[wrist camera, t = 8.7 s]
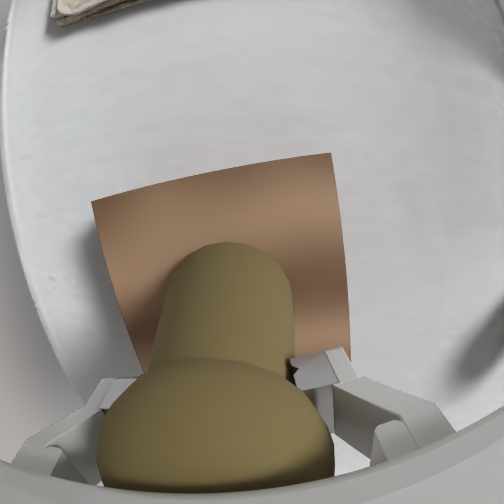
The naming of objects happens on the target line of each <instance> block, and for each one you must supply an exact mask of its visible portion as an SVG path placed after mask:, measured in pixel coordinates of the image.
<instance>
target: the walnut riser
mask: <svg viewBox="0 0 504 504" xmlns="http://www.w3.org/2000/svg"><path fill="white" fill-rule="evenodd" d="M91 204H92V208H93V213H94V217H95V222H96V226H97V230H98V234H99V238H100V242H101V246H102V250H103V254H104V258H105V261H106V265H107V268H108V272H109V275H110V279H111V282H112V285H113V288H114V292H115V295H116V298H117V301H118V304H119V307H120V310H121V313H122V316H123V319H124V322H125V325H126V327H127V330H128V333H129V336H130V338H131V341H132V344H133V346H134V349H135V351H136V354H137V356H138V359H139V361H140V364H141V366H142V369H143V371H144V373H146V372H148V368H149V363H150V359H151V354H152V349H153V345H154V341H155V336H156V332H157V328H158V324H159V319H160V315H161V311H162V307H163V303H164V299H165V295H166V292H167V288H168V285H169V282H170V280H171V277H172V275H173V272H174V270H175V269H176V268H177V267H178V265H179V264H180V263H181V262H182V261H183V260H184V259H185V257H186V256H187V255H189V254H191V253H193V252H194V251H196V250H198V249H200V248H201V247H203V246H205V245H210V244H215V243H220V242H235V243H244V244H248V245H250V246H252V247H255V248H257V249H259V250H261V251H264V252H266V253H267V254H268V255H269V256H270V257H271V258H272V259H273V260H275V261H276V262H277V263H278V264H279V265H280V266H281V268H282V270H283V271H284V273H285V275H286V277H287V279H288V280H289V282H290V287H291V293H292V299H293V312H294V330H295V351H296V357H299V356H303V355H308V354H312V353H317V352H321V351H324V350H327V349H331V348H335V347H339V346H341V347H342V348H343V349H344V351H345V353H346V355H347V356H348V358H349V360H350V362H351V348H350V323H349V305H348V290H347V277H346V265H345V255H344V245H343V235H342V227H341V218H340V210H339V203H338V196H337V189H336V182H335V175H334V169H333V163H332V157H331V153H324V154H316V155H308V156H301V157H294V158H287V159H281V160H274V161H268V162H262V163H256V164H250V165H245V166H239V167H234V168H229V169H223V170H218V171H213V172H208V173H203V174H199V175H194V176H189V177H185V178H180V179H176V180H172V181H167V182H163V183H159V184H155V185H151V186H146V187H143V188H139V189H135V190H131V191H127V192H123V193H120V194H116V195H112V196H109V197H105V198H102V199H98V200H95V201H91Z"/></svg>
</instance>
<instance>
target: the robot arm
mask: <svg viewBox="0 0 504 504" xmlns="http://www.w3.org/2000/svg"><path fill="white" fill-rule="evenodd" d="M289 362H290V367H291V372H292V377H293V381H294V384H295V386H296V387H298V388H299V389H301V390H302V391H303V392H304V393H305V395H306V396H307V397H308V399H309V400H310V401H311V402H312V404H313V405H314V406H315V408H316V409H317V411H318V412H319V414H320V415H321V417H322V418H323V420H324V421H325V423H326V424H327V426H328V429H329V432H330V434H331V433H335V434H336V435H337V436H338V437H340V438H341V439H342V440H344V441H345V442H347V443H348V444H349V445H351V446H352V447H354V448H355V449H356V450H358V451H359V452H361V453H362V454H363V455H365V456H366V457H368V458H369V459H371V461H370V467H367V468H364V469H360V470H357V471H353V472H350V473H346V474H342V475H338V476H334V477H330V478H325V479H321V480H316V481H311V482H306V483H301V484H296V485H290V486H283V487H277V488H269V489H261V490H252V491H241V492H227V493H199V494H185V493H157V492H143V491H133V490H124V489H116V488H109V487H102V486H96V485H97V484H98V483H99V482H100V481H101V480H102V479H101V476H100V473H99V469H98V466H97V463H96V458H97V448H98V440H99V435H100V430H101V425H102V421H103V419H104V418H105V416H106V414H107V412H108V410H109V408H110V406H111V404H112V403H113V402H114V401H115V400H116V399H117V398H118V397H119V396H120V395H121V394H122V393H123V392H124V391H125V390H126V389H127V388H128V387H129V386H130V385H131V384H132V383H133V382H134V381H135V380H136V379H138V378H139V377H118V378H116V377H113V378H103V379H101V381H100V382H99V384H98V385H97V387H96V389H95V390H94V392H93V393H92V395H91V397H90V398H89V400H88V402H87V403H86V405H85V407H84V408H79V409H77V410H76V411H74V412H72V413H71V414H69V415H67V416H66V417H64V418H62V419H61V420H59V421H58V422H56V423H54V424H52V425H51V426H49V427H47V428H46V429H44V430H42V431H41V432H39V433H37V434H35V435H34V436H32V437H31V438H29V439H27V440H26V441H25V442H24V444H23V445H22V447H21V449H20V450H19V452H18V453H17V454H16V456H15V458H14V459H13V461H12V462H11V463H8V462H5V461H2V460H0V504H504V406H502V407H501V408H499V409H497V410H496V411H494V412H492V413H491V414H489V415H487V416H486V417H484V418H482V419H480V420H479V421H477V422H475V423H473V424H471V425H469V426H467V427H466V428H464V429H462V430H460V431H458V432H456V431H455V430H454V429H453V427H452V426H451V424H450V423H449V422H448V420H447V419H446V418H445V416H444V415H443V413H442V412H441V411H440V409H439V408H438V407H437V405H436V404H435V403H432V402H430V401H427V400H424V399H421V398H419V397H416V396H413V395H410V394H408V393H405V392H402V391H400V390H397V389H395V388H392V387H389V386H387V385H384V384H382V383H379V382H377V381H374V380H372V379H369V378H367V377H360V378H359V376H358V374H357V373H356V371H355V369H354V367H353V365H352V364H351V362H350V360H349V358H348V356H347V355H346V353H345V351H344V349H343V348H342V347H341V346H339V347H335V348H331V349H327V350H324V351H321V352H317V353H312V354H308V355H303V356H299V357H294V358H289Z"/></svg>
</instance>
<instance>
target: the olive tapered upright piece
mask: <svg viewBox="0 0 504 504" xmlns="http://www.w3.org/2000/svg"><path fill="white" fill-rule="evenodd" d="M294 357H296V351H295V330H294V312H293V299H292V293H291V287H290V282H289V280H288V279H287V277H286V275H285V273H284V271H283V270H282V268H281V266H280V265H279V264H278V263H277V262H276V261H275V260H273V259H272V258H271V257H270V256H269V255H268V254H267V253H266V252H264V251H261V250H259V249H257V248H255V247H252V246H250V245H248V244H244V243H235V242H220V243H215V244H210V245H205V246H203V247H201V248H200V249H198V250H196V251H194V252H193V253H191V254H189V255H187V256H186V257H185V259H184V260H183V261H182V262H181V263H180V264H179V265H178V267H177V268H176V269H175V270H174V272H173V275H172V277H171V280H170V282H169V285H168V288H167V292H166V295H165V299H164V303H163V307H162V311H161V315H160V319H159V324H158V328H157V332H156V336H155V341H154V345H153V349H152V354H151V359H150V363H149V368H148V372H146V373H144V374H142V375H141V376H140V377H139V378H138V379H136V380H135V381H134V382H133V383H132V384H131V385H130V386H129V387H128V388H127V389H126V390H125V391H124V392H123V393H122V394H121V395H120V396H119V397H118V398H117V399H116V400H115V401H114V402H113V403H112V404H111V406H110V408H109V410H108V412H107V414H106V416H105V418H104V419H103V421H102V425H101V430H100V435H99V440H98V448H97V458H96V463H97V466H98V469H99V473H100V476H101V479H102V482H103V484H104V487H109V488H116V489H124V490H133V491H143V492H157V493H185V494H199V493H227V492H241V491H252V490H261V489H269V488H277V487H283V486H290V485H296V484H301V483H306V482H311V481H316V480H321V479H325V478H330V477H334V473H335V457H334V443H333V440H332V437H331V435H330V432H329V429H328V426H327V424H326V423H325V421H324V420H323V418H322V417H321V415H320V414H319V412H318V411H317V409H316V408H315V406H314V405H313V404H312V402H311V401H310V400H309V399H308V397H307V396H306V395H305V393H304V392H303V391H302V390H301V389H299V388H298V387H296V386H295V384H294V381H293V377H292V372H291V367H290V362H289V358H294Z"/></svg>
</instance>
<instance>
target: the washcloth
mask: <svg viewBox="0 0 504 504" xmlns="http://www.w3.org/2000/svg"><path fill="white" fill-rule="evenodd" d="M146 1H151V0H53V4H52V9H51V13H50V17H51V18H52V19H55V18H56V25H57V26H59V27H62V26H64V25H68V24H69V23H71V22H72V23H74V22H81V21H85V20H87V19H88V18H94V17H95V16H101V15H104V14H108V13H110V12H113V11H116V10H120V9H123V8H126V7H129V6H133V5H135V4H139V3H143V2H146Z"/></svg>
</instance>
